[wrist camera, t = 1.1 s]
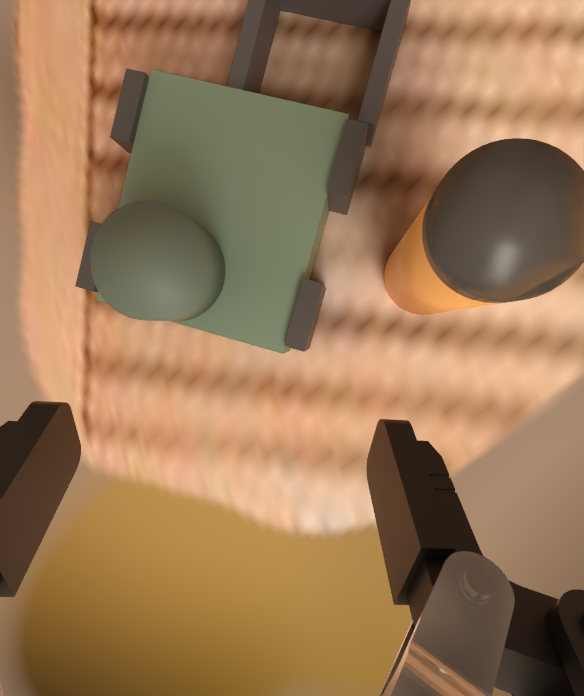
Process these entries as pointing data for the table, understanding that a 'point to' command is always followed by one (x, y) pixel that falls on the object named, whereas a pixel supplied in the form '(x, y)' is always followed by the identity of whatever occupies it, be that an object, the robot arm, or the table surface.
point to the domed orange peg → (492, 231)
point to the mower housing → (234, 188)
